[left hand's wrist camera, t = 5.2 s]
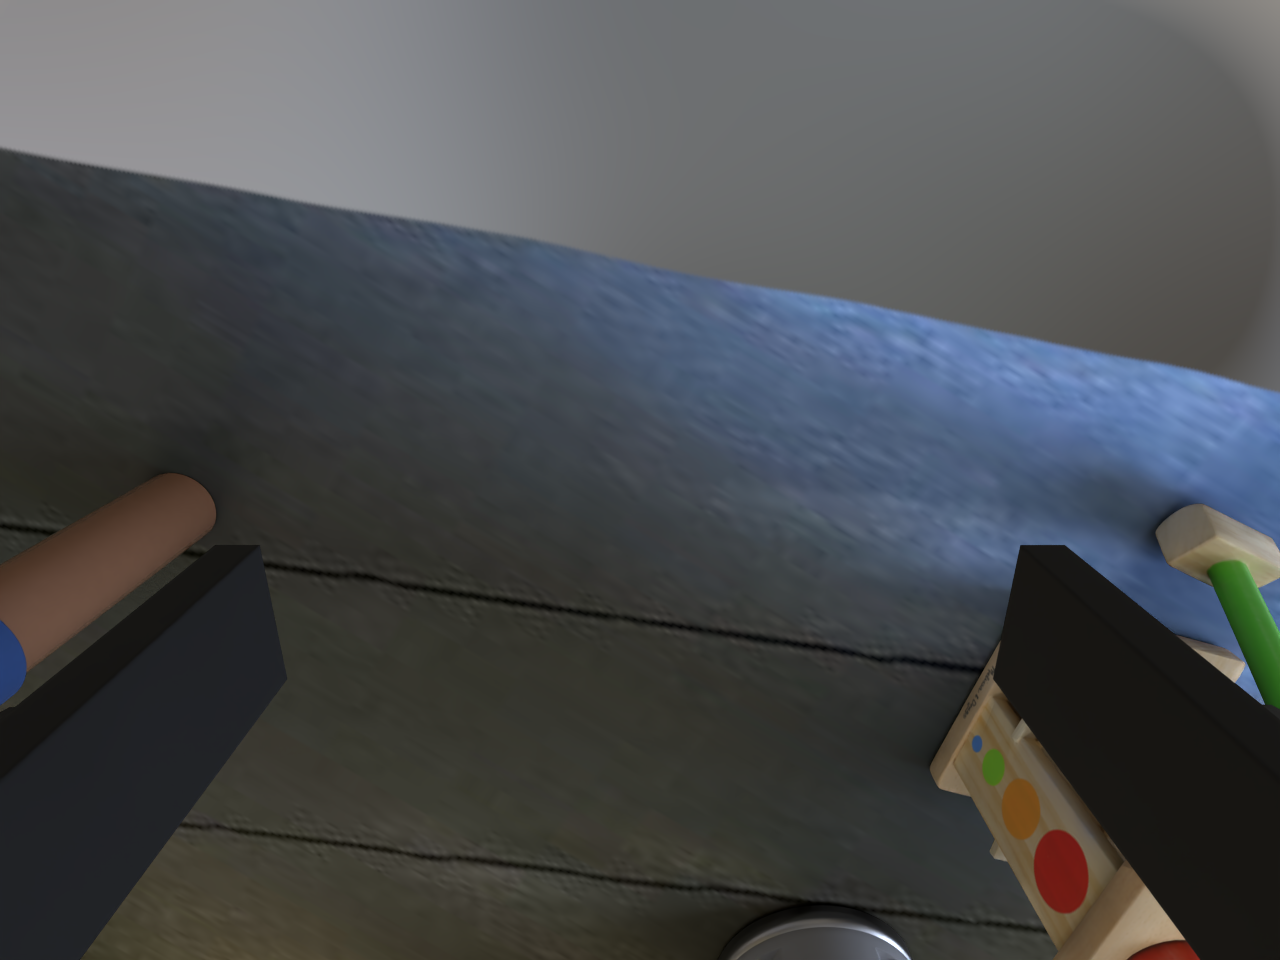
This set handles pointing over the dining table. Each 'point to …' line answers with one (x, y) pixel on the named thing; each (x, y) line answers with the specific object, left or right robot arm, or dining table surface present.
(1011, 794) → the pounding bench toy
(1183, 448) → the dining table surface
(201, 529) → the jar
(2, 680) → the lid
